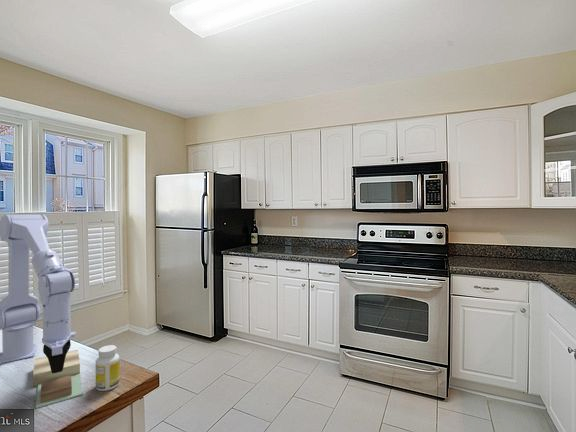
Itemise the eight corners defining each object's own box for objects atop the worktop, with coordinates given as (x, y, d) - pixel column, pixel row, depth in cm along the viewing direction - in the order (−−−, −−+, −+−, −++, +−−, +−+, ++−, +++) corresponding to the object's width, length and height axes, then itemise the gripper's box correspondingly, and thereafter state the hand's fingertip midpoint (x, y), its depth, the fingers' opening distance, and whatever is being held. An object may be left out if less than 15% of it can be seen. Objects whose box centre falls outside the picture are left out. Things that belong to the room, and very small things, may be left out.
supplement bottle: (120, 378, 85) (120, 342, 85) (119, 388, 80) (119, 351, 80) (96, 382, 83) (96, 345, 82) (94, 393, 78) (94, 355, 78)
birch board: (35, 369, 88) (35, 358, 88) (77, 359, 94) (77, 349, 94) (33, 386, 80) (32, 375, 80) (79, 374, 86) (79, 363, 86)
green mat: (38, 385, 81) (38, 384, 81) (80, 374, 86) (80, 373, 86) (35, 408, 72) (35, 406, 72) (82, 395, 77) (82, 393, 77)
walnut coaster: (40, 394, 73) (40, 403, 73) (71, 386, 77) (71, 394, 77) (41, 382, 78) (41, 390, 78) (71, 375, 82) (71, 382, 82)
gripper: (77, 325, 77) (77, 379, 77) (74, 308, 88) (74, 355, 89) (40, 331, 73) (41, 389, 73) (42, 313, 84) (43, 362, 85)
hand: (57, 371), depth 81 cm, fingers closed
